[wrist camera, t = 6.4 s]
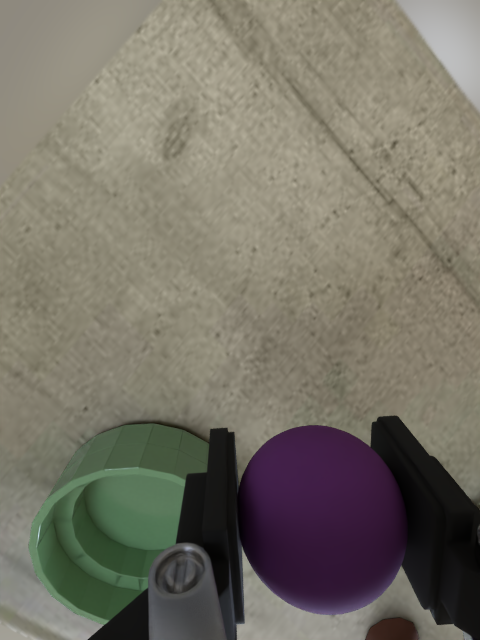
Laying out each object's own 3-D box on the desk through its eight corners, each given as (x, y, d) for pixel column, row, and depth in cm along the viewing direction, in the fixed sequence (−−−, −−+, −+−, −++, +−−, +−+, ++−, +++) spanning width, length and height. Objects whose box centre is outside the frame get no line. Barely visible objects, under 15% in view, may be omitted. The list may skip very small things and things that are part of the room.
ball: (239, 517, 13) (244, 670, 9) (230, 402, 11) (230, 514, 7) (367, 508, 13) (436, 655, 9) (372, 391, 12) (455, 497, 7)
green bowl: (80, 565, 35) (51, 635, 30) (48, 425, 31) (7, 475, 25) (240, 555, 36) (243, 622, 30) (232, 414, 31) (233, 461, 25)
